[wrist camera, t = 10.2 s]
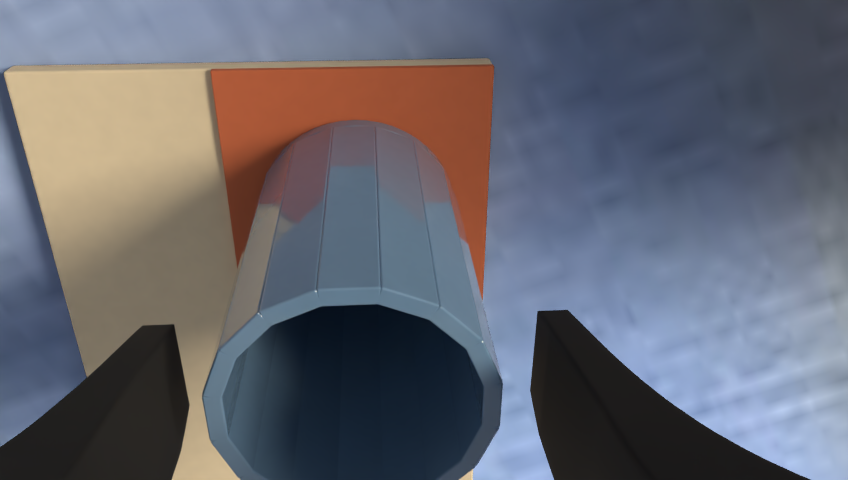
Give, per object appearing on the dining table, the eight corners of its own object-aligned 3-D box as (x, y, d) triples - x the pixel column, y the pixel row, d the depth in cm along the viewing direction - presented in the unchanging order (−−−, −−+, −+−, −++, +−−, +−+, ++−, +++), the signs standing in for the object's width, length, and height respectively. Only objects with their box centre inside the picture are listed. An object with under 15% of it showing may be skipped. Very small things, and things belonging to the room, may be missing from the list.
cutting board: (489, 57, 19) (494, 65, 19) (465, 567, 29) (468, 585, 28) (11, 64, 19) (-2, 74, 18) (151, 586, 28) (145, 605, 28)
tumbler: (456, 116, 19) (510, 283, 12) (452, 289, 22) (494, 508, 15) (249, 121, 19) (182, 294, 12) (269, 296, 21) (224, 523, 15)
